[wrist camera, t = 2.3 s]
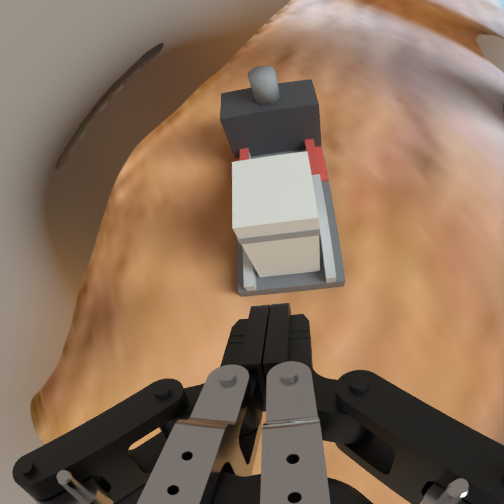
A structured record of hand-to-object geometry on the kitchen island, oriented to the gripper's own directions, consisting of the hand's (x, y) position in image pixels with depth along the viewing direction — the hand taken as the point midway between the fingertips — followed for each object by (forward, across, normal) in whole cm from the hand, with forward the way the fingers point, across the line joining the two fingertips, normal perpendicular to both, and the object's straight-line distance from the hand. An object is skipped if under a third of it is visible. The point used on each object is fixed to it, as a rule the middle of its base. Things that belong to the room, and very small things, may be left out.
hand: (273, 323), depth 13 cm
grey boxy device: (+20, 0, 0) cm, 20 cm away
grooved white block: (+15, 0, +3) cm, 16 cm away
